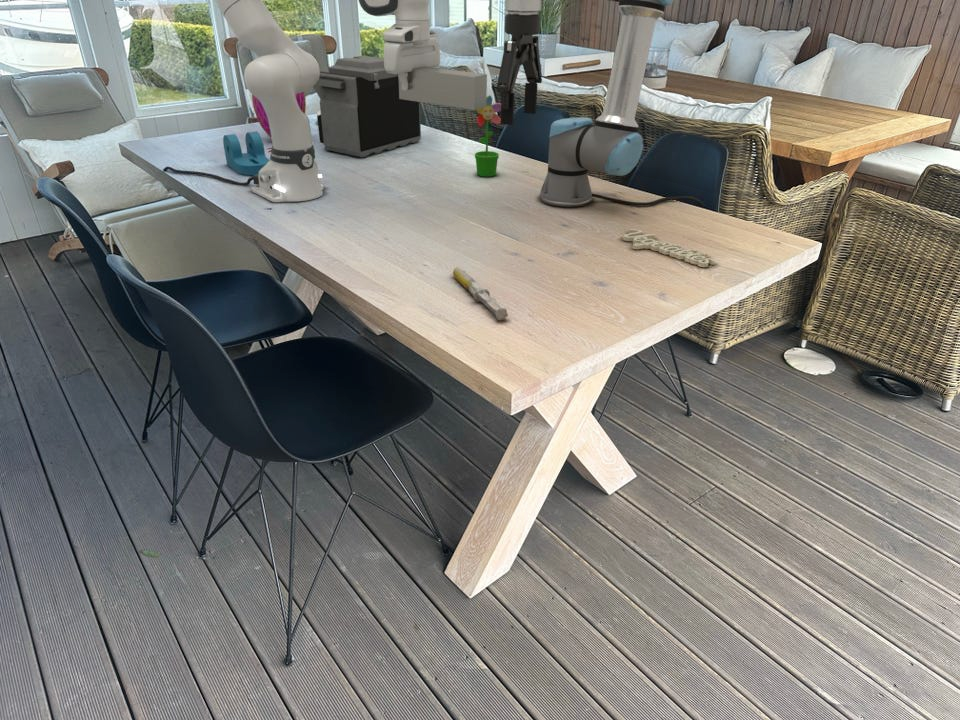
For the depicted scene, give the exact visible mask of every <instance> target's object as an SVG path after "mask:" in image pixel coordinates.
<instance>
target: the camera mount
mask: <svg viewBox="0 0 960 720" xmlns="http://www.w3.org/2000/svg"><path fill="white" fill-rule="evenodd" d="M222 140H223V141H222V143H223V149H224V150H223V151H224V156H225V161H226V165H227V166H228V167H230V168H231V169H232V170H234V171H236V172H237V173H238V174H239V175H244V176H254V175H257V174H259V171H260V170H261V169H262V168H263V167H264V166H265V165H266V164H267V163H268V162H269V161H270V160H271V159H270V158H268V157H267V156H266V153H265V145H264V141H263V139H262V136H261V134H260V132H258V131H247V132H246V133H245V146H246V152H243V151H242V150H243V149H242V146H241V142H240V140H239V138H238V135H236V134H235V133H231V134H224V135H223V138H222Z"/></svg>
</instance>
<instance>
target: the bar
mask: <svg viewBox="0 0 960 720" xmlns="http://www.w3.org/2000/svg"><path fill="white" fill-rule="evenodd" d="M406 78H407V81H408V83H410V89H409V90H402V83H401V81H400V79H399V99H403V100H409V101H416V102H420V103H424V104H431V105H437V106H443V107H449V108H456V109H462V110H469V111H477V109H481V108H484V107H486V97H488V96H487V94H488V93H487V90H488V73H479V72H471V71H465V70H464V71H463V70H456V69H448V68H440V67H421V68H415V69H412V71H411V72H408V76H407V77H406Z"/></svg>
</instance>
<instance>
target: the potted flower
mask: <svg viewBox="0 0 960 720" xmlns="http://www.w3.org/2000/svg"><path fill="white" fill-rule="evenodd" d="M498 112H501V102H495V103H493V97H492V96H491V95H490V94H488V96H487V97H486V107H484V108H481V109H477V110H476V113H477V114H479V115H478V116H477V118H476V122H477V124H478V126H479V127H482V126H483V125H484V124H485V137H480V138H479V139H478V143H480V144H484V145H485V150H482V151H477V152H474V158H475V164H476V174H477V175H478V176H480V177H486V178H487V177H488V178H489V177H494V176H496V174H497V168H498V160H499V157H500V153H498V152H496V151H492V150H489V138H490V137H492V136H493V134H494V132H493V131H489V121H490V122H491V123H492V124H495V125H500V124H501V116H500V115H498V114H497V113H498ZM501 125H502V124H501Z"/></svg>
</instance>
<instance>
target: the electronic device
mask: <svg viewBox="0 0 960 720" xmlns="http://www.w3.org/2000/svg"><path fill="white" fill-rule="evenodd" d="M312 88H313V90H314V91H315V93H316V94H317V96H318V98H319V111H321V115H319V116H318V117H317V116H316V119H317V120H318V121H317V128H318V138H319V143H320V144H323V146H324V149H325V150H327V151H330V152H335V153H340V154H344V155H348V156H353V157H357V158H362V159H363V158H366V157H367V158H368V157H369V155H371V154H375V155H377V154H381V153H382V152H383V151H391V150H395V149H396V148H397V147H405V146H407V145H408V144H416V143H418V142H419V141H421V137H422V128H421V102H416V101H409V100H403V99H399V77H398V74H390V73H387V72H386V70H385V67H384V57H377V56H367V55H356V56H353V57H350V58H349V57H343V58H342V57H341V58H337V59H336V60H335V63H334V64H333V65H330V66H329V67H328V72H327V71H321V70H320V76H319V80H318V82H317V83H316V84H315V85H314V86H313V87H312Z"/></svg>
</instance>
